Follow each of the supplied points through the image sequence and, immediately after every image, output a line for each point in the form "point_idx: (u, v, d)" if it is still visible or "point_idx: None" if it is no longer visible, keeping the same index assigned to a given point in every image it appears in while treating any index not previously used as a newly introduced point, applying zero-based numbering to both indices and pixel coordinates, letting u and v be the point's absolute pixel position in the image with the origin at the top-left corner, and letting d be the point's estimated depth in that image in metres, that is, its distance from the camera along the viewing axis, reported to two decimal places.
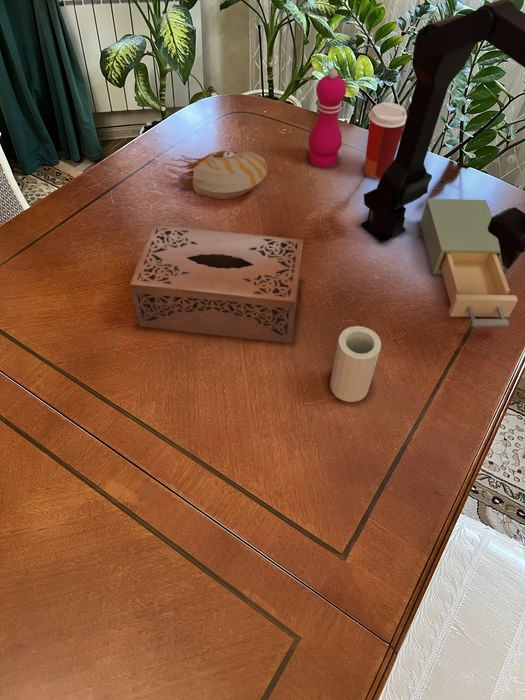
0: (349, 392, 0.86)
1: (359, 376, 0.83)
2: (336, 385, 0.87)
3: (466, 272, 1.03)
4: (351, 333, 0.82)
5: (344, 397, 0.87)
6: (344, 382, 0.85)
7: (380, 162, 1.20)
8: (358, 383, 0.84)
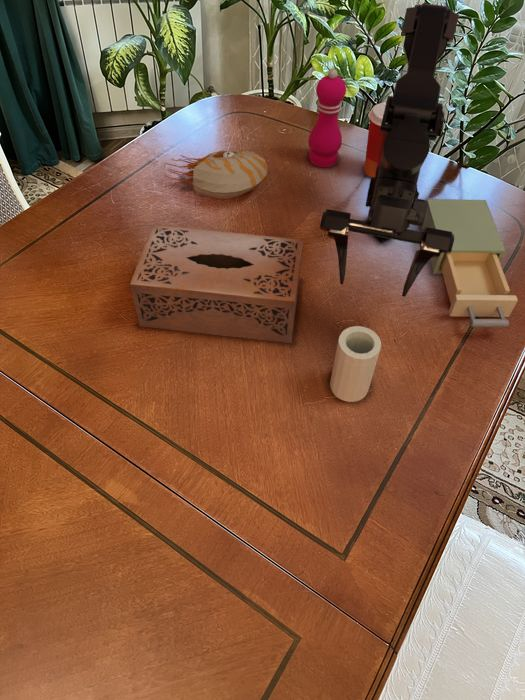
0: (349, 392, 0.86)
1: (359, 376, 0.83)
2: (336, 385, 0.87)
3: (466, 272, 1.03)
4: (351, 333, 0.82)
5: (344, 397, 0.87)
6: (344, 382, 0.85)
7: None
8: (358, 383, 0.84)
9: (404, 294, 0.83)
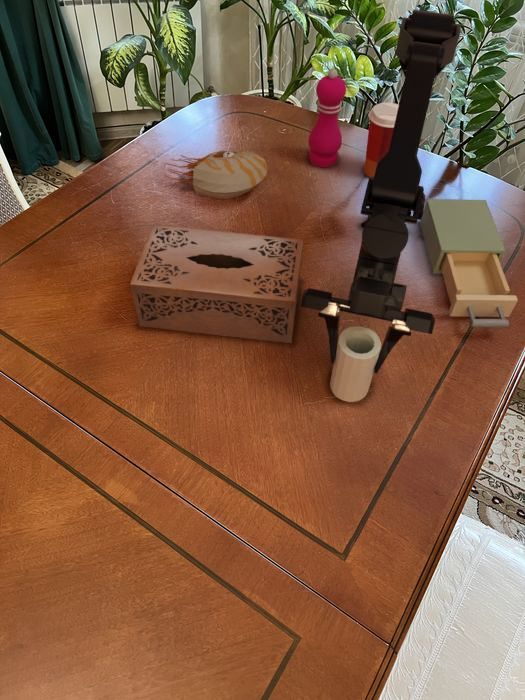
0: (349, 392, 0.86)
1: (359, 376, 0.83)
2: (336, 385, 0.87)
3: (466, 272, 1.03)
4: (351, 333, 0.82)
5: (344, 397, 0.87)
6: (344, 383, 0.85)
7: None
8: (358, 383, 0.84)
9: (376, 371, 0.83)
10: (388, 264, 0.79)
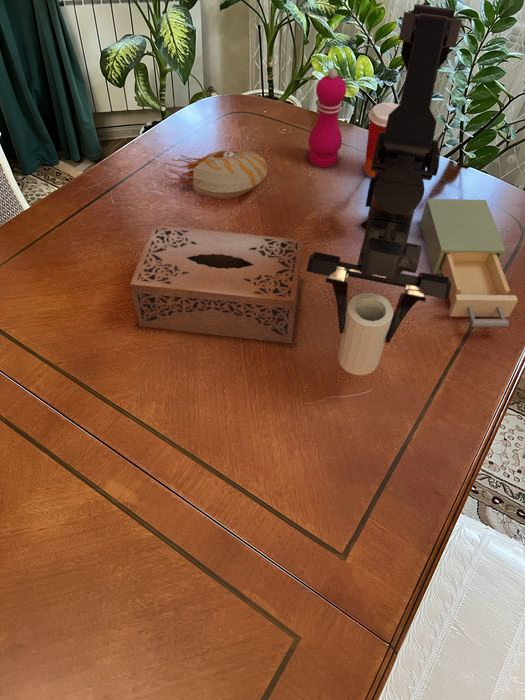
0: (359, 364, 0.81)
1: (370, 346, 0.77)
2: (345, 357, 0.81)
3: (466, 272, 1.03)
4: (361, 300, 0.77)
5: (353, 370, 0.82)
6: (354, 354, 0.79)
7: None
8: (369, 353, 0.79)
9: (387, 340, 0.77)
10: (401, 224, 0.74)
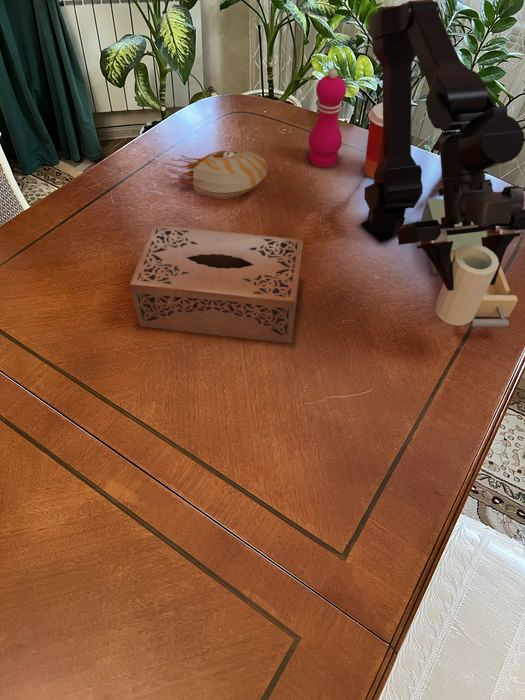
0: (468, 314, 0.85)
1: (482, 293, 0.82)
2: (453, 312, 0.85)
3: None
4: (462, 254, 0.81)
5: (462, 321, 0.86)
6: (465, 305, 0.83)
7: None
8: (479, 300, 0.83)
9: (493, 282, 0.82)
10: (482, 173, 0.78)
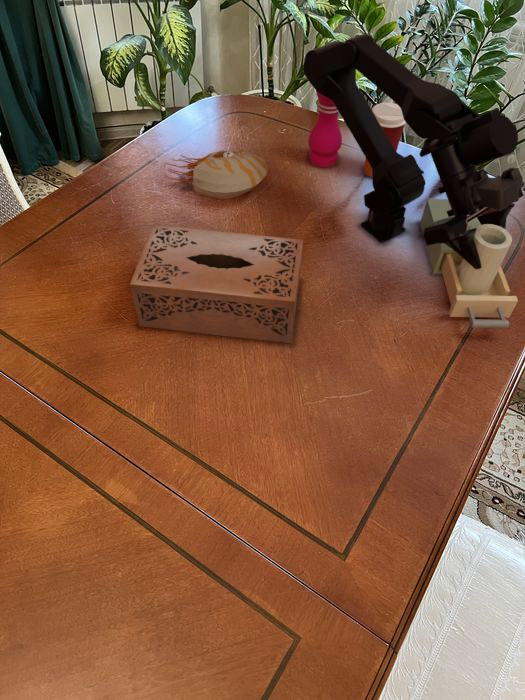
0: (491, 282, 0.98)
1: (502, 261, 0.95)
2: (480, 285, 0.98)
3: None
4: None
5: (486, 290, 0.99)
6: (490, 276, 0.96)
7: None
8: (498, 268, 0.97)
9: None
10: (475, 165, 0.91)
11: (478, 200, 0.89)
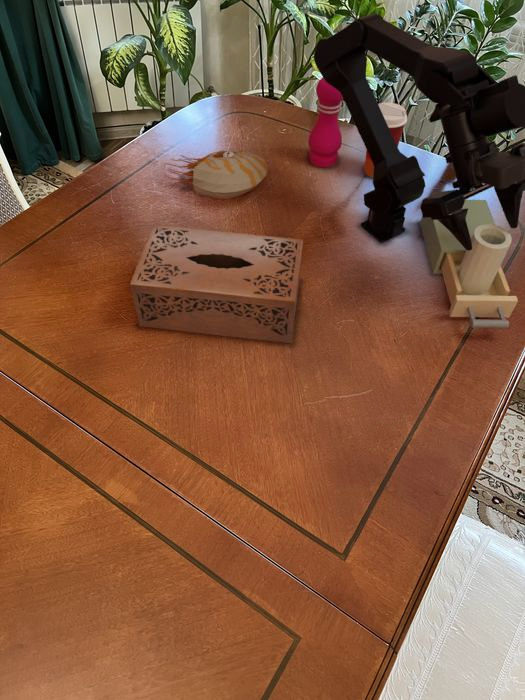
0: (491, 282, 0.98)
1: None
2: (480, 285, 0.98)
3: None
4: (479, 235, 0.93)
5: (486, 290, 0.99)
6: (490, 276, 0.96)
7: None
8: (498, 268, 0.97)
9: (516, 226, 0.92)
10: (486, 137, 0.85)
11: (480, 176, 0.84)
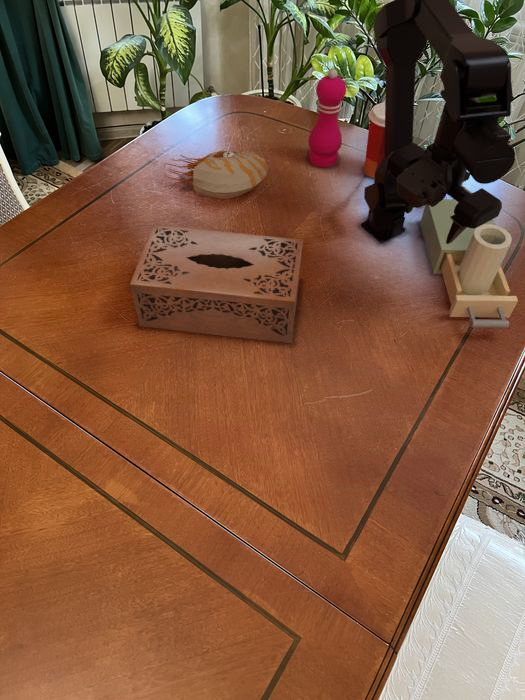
0: (491, 282, 0.98)
1: None
2: (480, 285, 0.98)
3: None
4: (479, 235, 0.93)
5: (486, 290, 0.99)
6: (490, 276, 0.96)
7: (380, 162, 1.20)
8: (498, 268, 0.97)
9: (446, 242, 0.91)
10: (450, 152, 0.80)
11: None
